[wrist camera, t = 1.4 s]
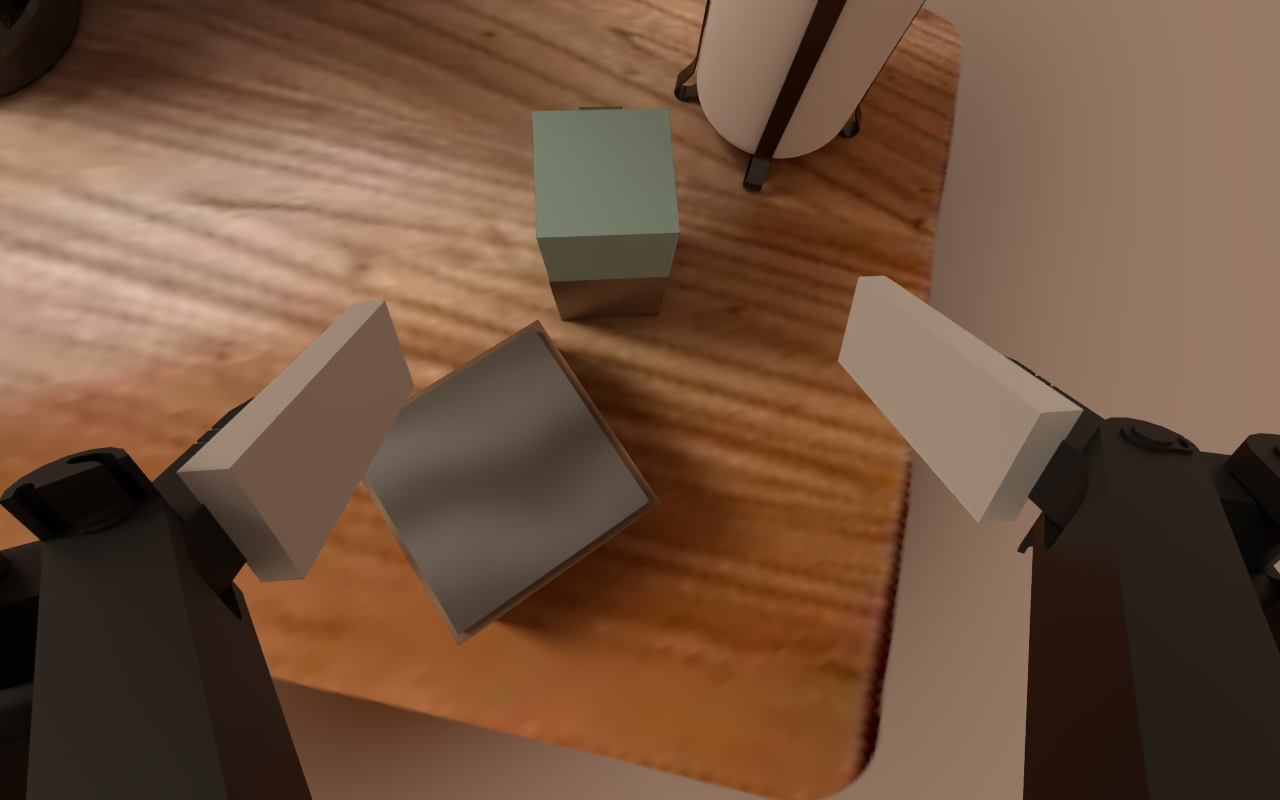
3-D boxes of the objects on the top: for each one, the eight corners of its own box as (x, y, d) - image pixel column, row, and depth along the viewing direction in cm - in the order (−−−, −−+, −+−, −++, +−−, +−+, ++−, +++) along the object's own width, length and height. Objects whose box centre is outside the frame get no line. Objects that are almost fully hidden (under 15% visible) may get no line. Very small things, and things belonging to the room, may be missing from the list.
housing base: (561, 320, 34) (549, 282, 28) (557, 231, 35) (544, 175, 29) (658, 315, 35) (667, 277, 28) (650, 227, 36) (658, 171, 29)
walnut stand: (385, 448, 32) (332, 440, 26) (550, 346, 34) (536, 316, 28) (486, 617, 30) (455, 649, 24) (653, 500, 32) (662, 503, 26)
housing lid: (550, 281, 28) (536, 237, 23) (545, 151, 29) (531, 84, 24) (668, 276, 28) (679, 232, 23) (657, 148, 30) (666, 81, 25)
